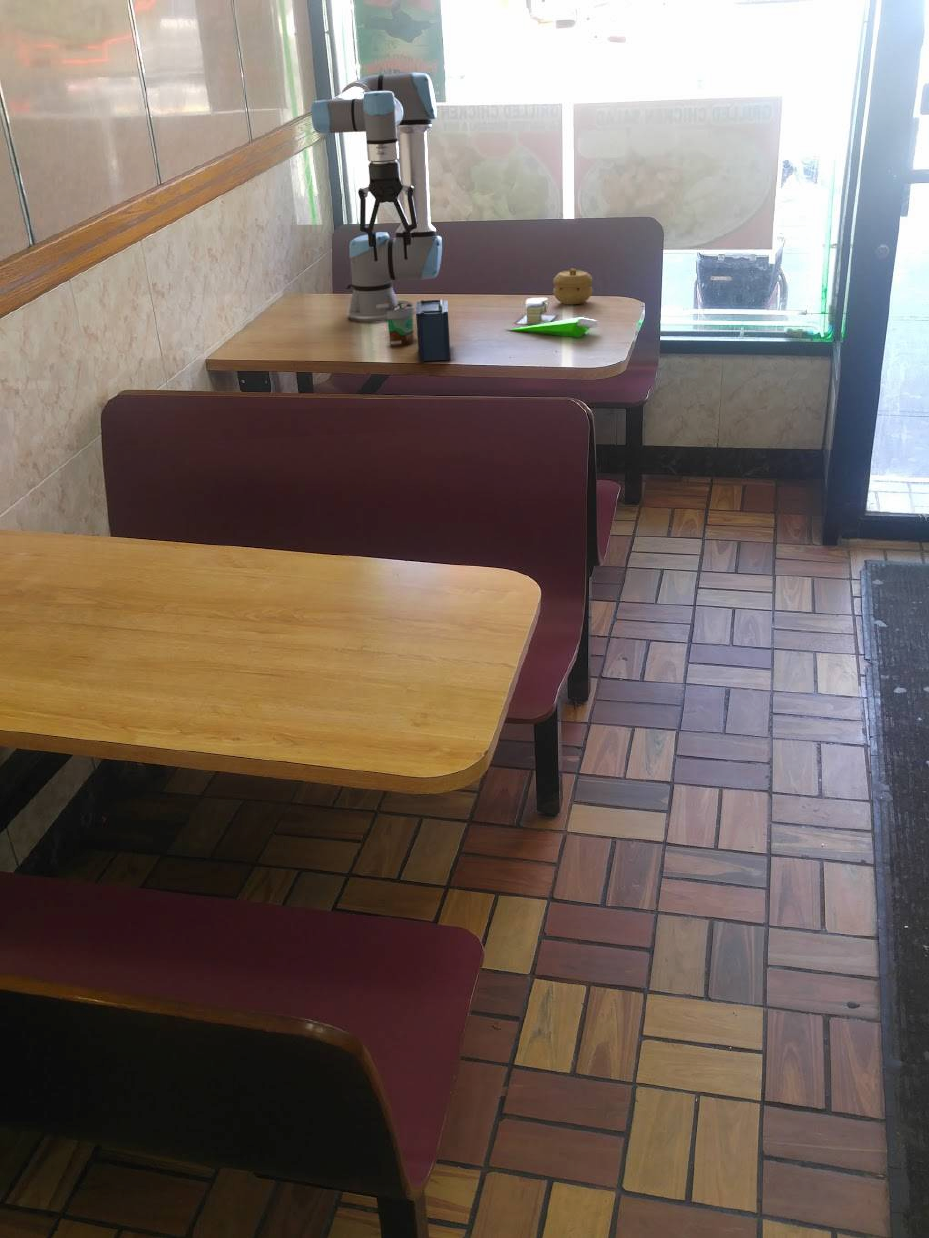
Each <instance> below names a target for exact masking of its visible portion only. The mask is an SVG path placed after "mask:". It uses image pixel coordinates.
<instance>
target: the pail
mask: <svg viewBox="0 0 929 1238" xmlns="http://www.w3.org/2000/svg"><path fill="white" fill-rule="evenodd" d="M448 302H449V301H448V299H447V300H442V299H441V298H439V299H428V300H427V299H426V300H424V299H422V300H421V301H416V308H415V311H416V312H415V318H416V319H415V320H416V334H417V346H418V347H417V349H418V361H419V364H422V363H424V362H429V361H430V362H432V361H433V362H434V361H435V362H436V361H446V362H451V340H450V337H451V336H450V321H449V305H448Z"/></svg>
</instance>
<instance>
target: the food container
mask: <svg viewBox="0 0 929 1238" xmlns="http://www.w3.org/2000/svg"><path fill="white" fill-rule="evenodd" d="M397 301H398V305H397V306H396V307H393V308H392V310H391V311H387V319H388V321H387V325H388V333H389V334H388V335H389V344H390V348H401V347H406V346H409V345H411V344H413V343H414V315H416V308H415V305H414V303H413V302H412V301H407V300H397Z"/></svg>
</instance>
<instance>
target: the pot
mask: <svg viewBox="0 0 929 1238" xmlns="http://www.w3.org/2000/svg"><path fill="white" fill-rule="evenodd" d="M593 281H594V280H593V277H592V275H590V273H588V272H587V271H584V270H579V269H576V268H570V269H569V270H563V271H561V272H558V273H557V274H556V275H555V276H554V278H553V285H554V287H553V290H552V293H553V296H554V297H555V299H556V300H557V301H558V302H559V303H560V304H561V303H562V304H564V305H580V304H583V303H586V302H587V301H588V300H589V299H590V297H591V296H592V295H593V291H594V289H593V287H592V286H591V284H592V283H593Z"/></svg>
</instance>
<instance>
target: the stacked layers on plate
mask: <svg viewBox="0 0 929 1238" xmlns="http://www.w3.org/2000/svg"><path fill="white" fill-rule="evenodd" d="M548 300H549V298H548V297H530V298H527V299H526V300H525V301H524V303H525V304H526V305H525V307H524V309H526V313H525V315H524V316H523V317H522V318H521V319H519V321H517V322H516V324H518V325H519V324H520V325H521V324H522V325H526V324H527V325H539V324H545V323H551V321H552V320H554V319H555V318H556V317H557V315H546V314H548V313H549V309H548V305H549V302H547V301H548Z"/></svg>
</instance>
